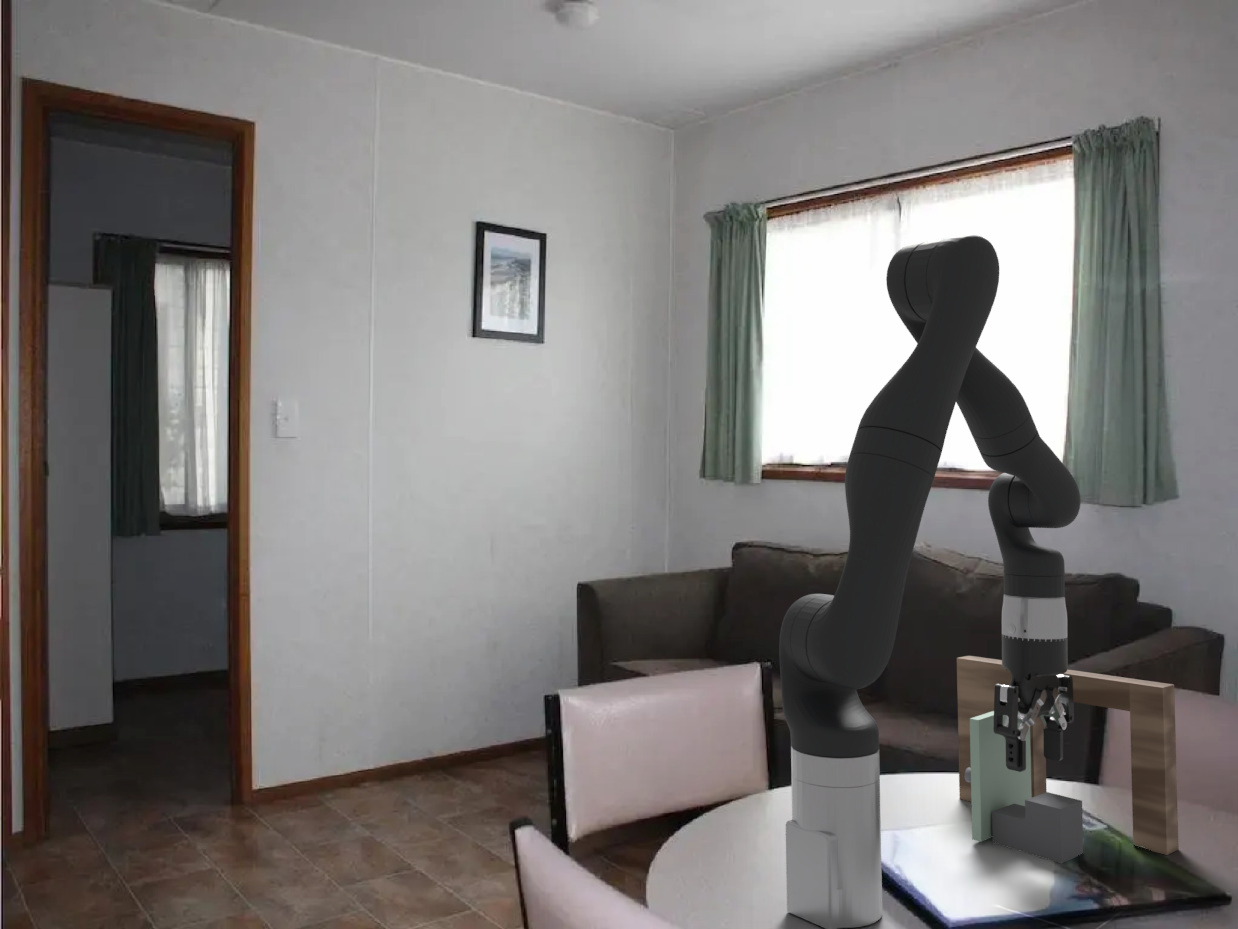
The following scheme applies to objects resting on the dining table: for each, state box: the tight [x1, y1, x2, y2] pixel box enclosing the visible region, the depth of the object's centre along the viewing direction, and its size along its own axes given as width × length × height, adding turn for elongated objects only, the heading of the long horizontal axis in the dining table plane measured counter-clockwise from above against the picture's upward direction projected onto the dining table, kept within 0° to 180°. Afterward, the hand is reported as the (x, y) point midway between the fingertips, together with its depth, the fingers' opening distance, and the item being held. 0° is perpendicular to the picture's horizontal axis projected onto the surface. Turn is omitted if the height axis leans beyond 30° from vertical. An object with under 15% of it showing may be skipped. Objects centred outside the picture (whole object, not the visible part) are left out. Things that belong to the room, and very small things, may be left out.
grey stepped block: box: [992, 791, 1084, 864], centre depth 124 cm, size 5×9×6 cm, turn 37°
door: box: [965, 711, 1032, 843], centre depth 130 cm, size 2×14×15 cm, turn 132°
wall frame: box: [956, 655, 1179, 856], centre depth 133 cm, size 3×28×20 cm, turn 37°
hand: (1035, 764), depth 124 cm, fingers open, 8 cm apart
